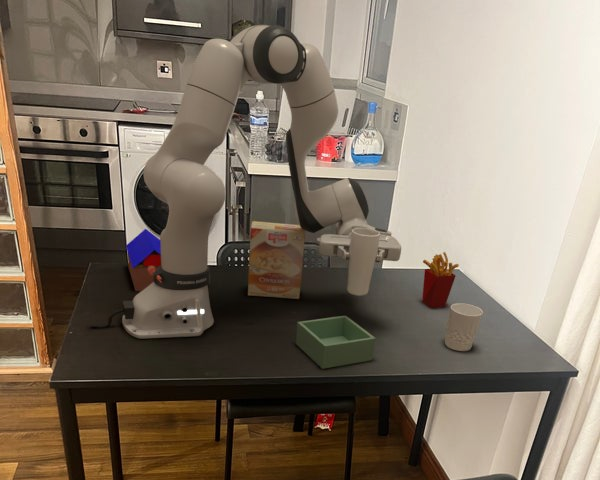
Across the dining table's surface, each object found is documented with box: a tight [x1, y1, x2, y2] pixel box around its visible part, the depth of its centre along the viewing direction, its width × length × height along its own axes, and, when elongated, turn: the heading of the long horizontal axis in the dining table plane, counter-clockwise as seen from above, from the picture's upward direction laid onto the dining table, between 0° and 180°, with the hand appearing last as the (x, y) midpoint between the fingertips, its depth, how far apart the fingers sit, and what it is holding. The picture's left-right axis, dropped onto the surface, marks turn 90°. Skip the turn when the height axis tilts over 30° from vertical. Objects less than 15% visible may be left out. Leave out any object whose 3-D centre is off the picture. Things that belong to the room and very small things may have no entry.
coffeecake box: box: [247, 220, 306, 300], centre depth 169 cm, size 15×7×20 cm, turn 91°
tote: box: [295, 315, 377, 370], centre depth 143 cm, size 14×14×6 cm
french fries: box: [421, 251, 460, 309], centre depth 173 cm, size 9×8×15 cm
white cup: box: [444, 302, 484, 352], centre depth 151 cm, size 8×8×10 cm
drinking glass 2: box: [346, 228, 380, 297], centre depth 143 cm, size 7×7×15 cm
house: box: [125, 228, 161, 292], centre depth 173 cm, size 12×20×12 cm, turn 19°
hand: (363, 258), depth 142 cm, fingers closed on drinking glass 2, 6 cm apart
